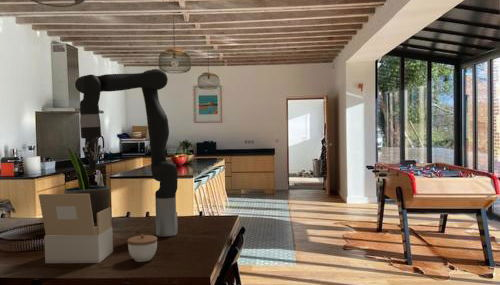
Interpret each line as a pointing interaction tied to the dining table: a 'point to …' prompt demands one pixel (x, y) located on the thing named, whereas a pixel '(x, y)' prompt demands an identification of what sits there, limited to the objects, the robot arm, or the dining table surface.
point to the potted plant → (89, 188)
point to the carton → (82, 244)
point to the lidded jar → (142, 247)
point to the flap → (67, 214)
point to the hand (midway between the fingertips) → (93, 169)
